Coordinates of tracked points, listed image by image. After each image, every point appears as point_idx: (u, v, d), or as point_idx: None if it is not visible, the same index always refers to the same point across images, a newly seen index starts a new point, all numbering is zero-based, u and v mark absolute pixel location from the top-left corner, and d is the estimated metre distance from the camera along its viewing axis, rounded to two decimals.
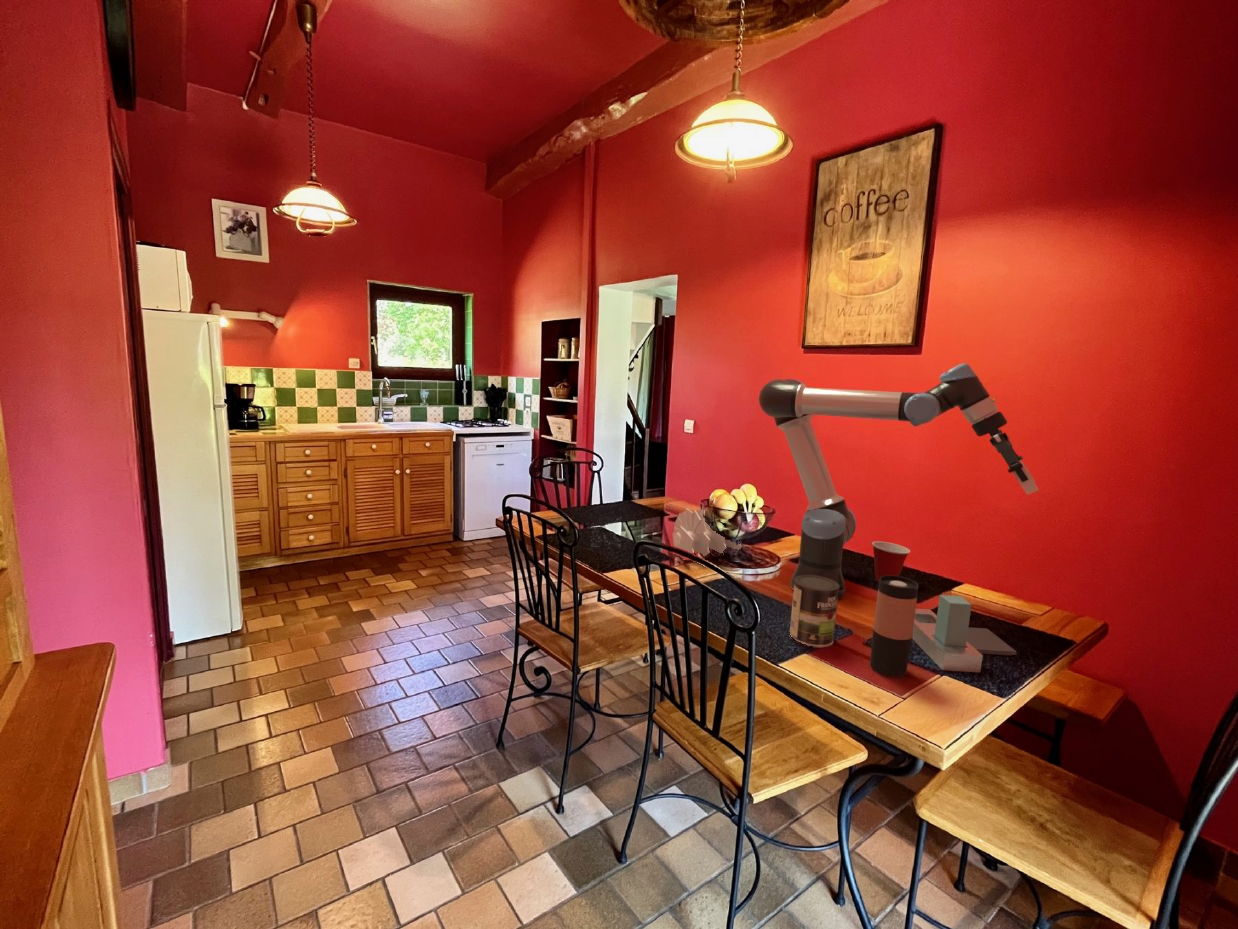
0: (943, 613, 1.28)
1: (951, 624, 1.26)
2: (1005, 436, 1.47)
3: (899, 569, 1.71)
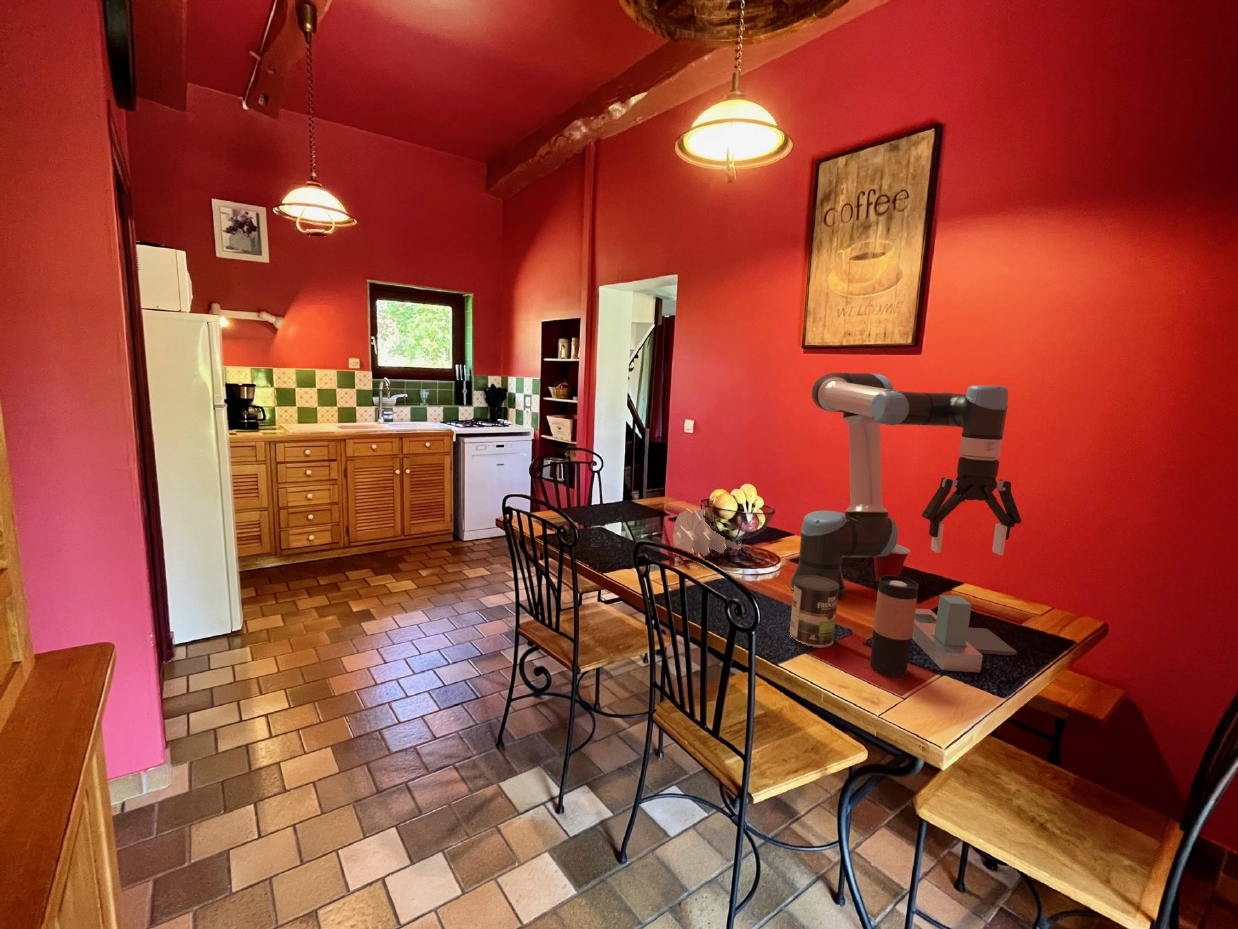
0: (943, 613, 1.28)
1: (951, 624, 1.26)
2: (969, 488, 1.22)
3: (899, 569, 1.71)
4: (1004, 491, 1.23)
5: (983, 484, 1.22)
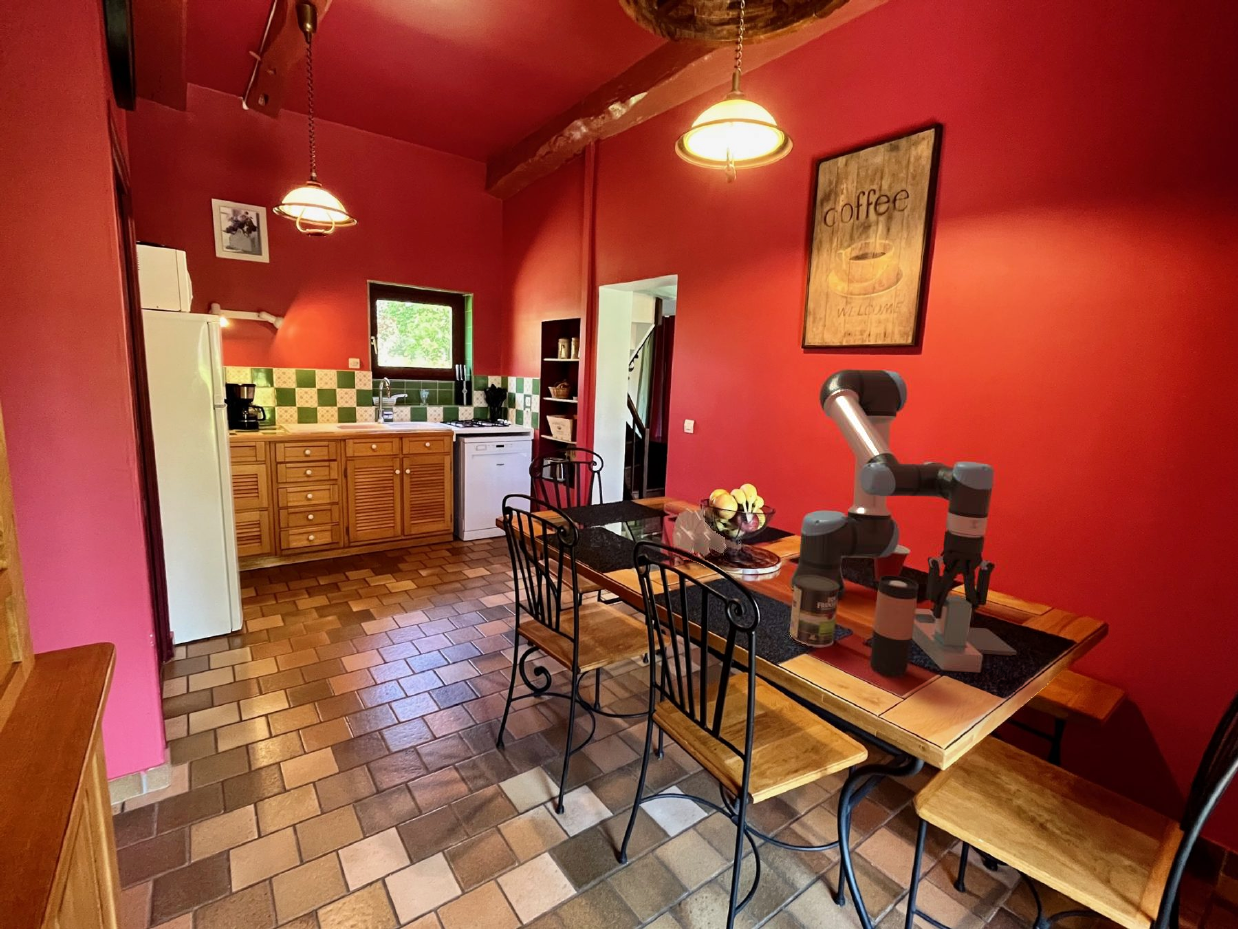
0: None
1: (951, 624, 1.26)
2: (955, 565, 1.24)
3: (899, 569, 1.71)
4: (985, 570, 1.25)
5: (970, 559, 1.25)
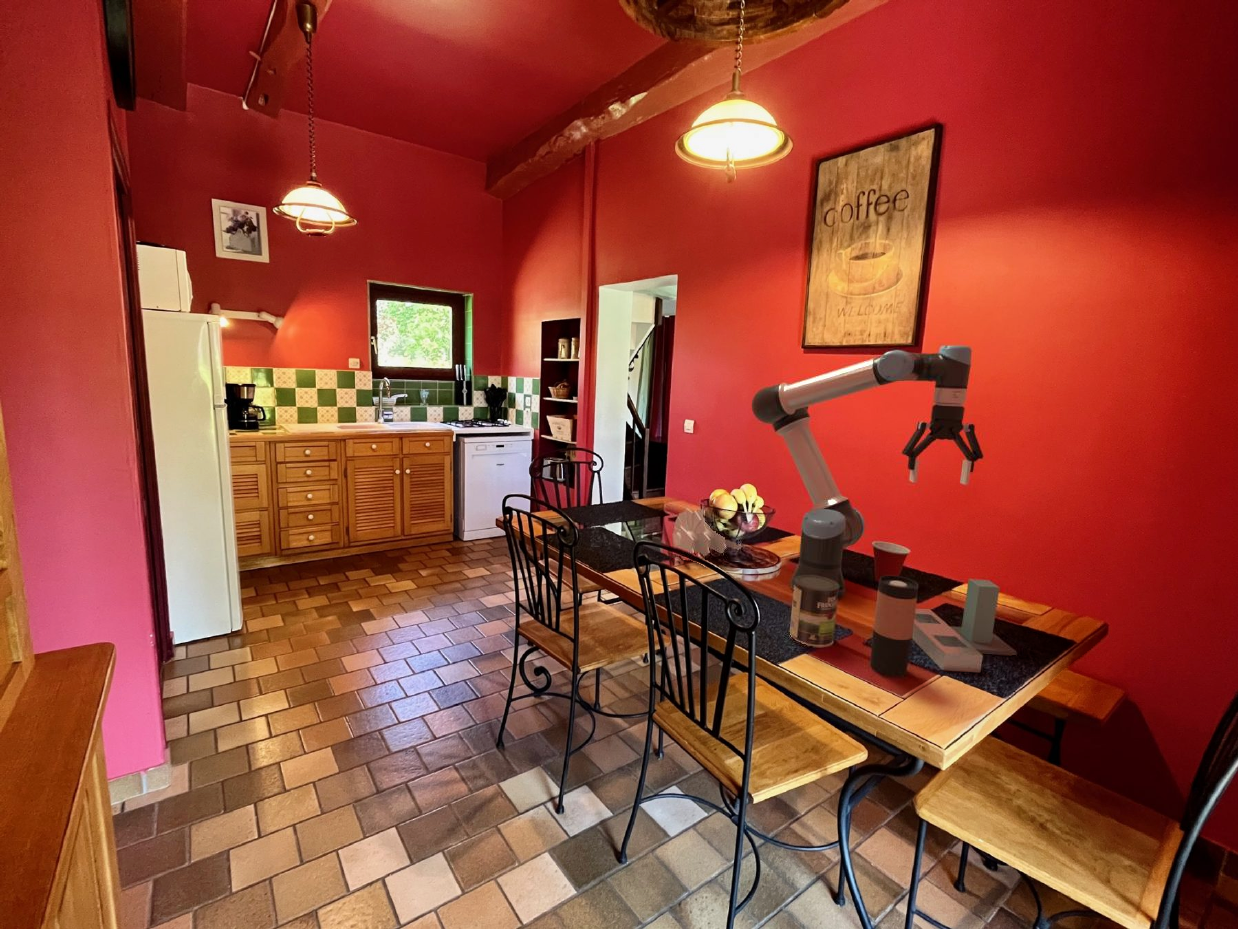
0: (972, 596, 1.36)
1: (980, 606, 1.34)
2: (940, 429, 1.51)
3: (899, 569, 1.71)
4: (969, 432, 1.51)
5: (951, 426, 1.51)
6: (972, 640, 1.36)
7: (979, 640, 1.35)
